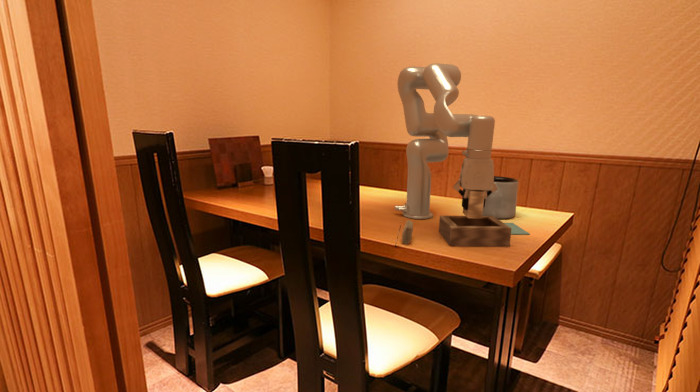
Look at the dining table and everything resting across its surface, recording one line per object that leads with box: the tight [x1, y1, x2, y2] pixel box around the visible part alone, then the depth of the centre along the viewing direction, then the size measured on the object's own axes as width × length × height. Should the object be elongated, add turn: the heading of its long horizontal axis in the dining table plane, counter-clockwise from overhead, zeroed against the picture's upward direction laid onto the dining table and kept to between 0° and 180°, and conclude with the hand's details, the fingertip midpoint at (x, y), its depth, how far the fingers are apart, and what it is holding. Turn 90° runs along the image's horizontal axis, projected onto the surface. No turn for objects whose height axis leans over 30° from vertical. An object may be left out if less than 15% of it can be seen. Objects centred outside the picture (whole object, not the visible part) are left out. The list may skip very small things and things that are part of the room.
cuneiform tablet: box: [394, 219, 414, 248], centre depth 121 cm, size 7×4×12 cm
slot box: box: [438, 214, 512, 248], centre depth 124 cm, size 19×15×6 cm
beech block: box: [462, 190, 485, 219], centre depth 123 cm, size 4×6×9 cm
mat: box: [503, 222, 531, 236], centre depth 137 cm, size 12×14×1 cm
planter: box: [482, 175, 519, 220], centre depth 155 cm, size 16×16×16 cm
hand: (472, 208), depth 124 cm, fingers closed on beech block, 4 cm apart
